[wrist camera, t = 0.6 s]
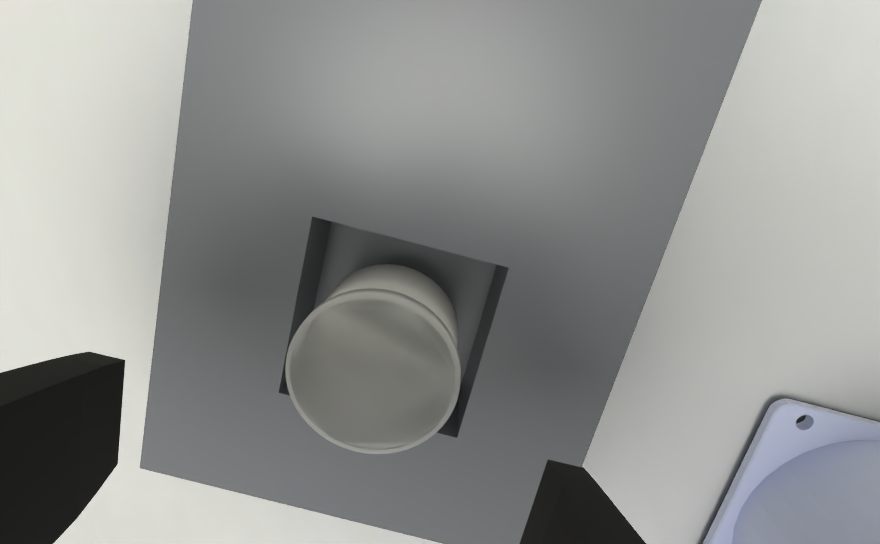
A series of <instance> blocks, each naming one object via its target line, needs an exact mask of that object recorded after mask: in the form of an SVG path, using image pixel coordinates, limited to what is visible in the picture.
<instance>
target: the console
mask: <svg viewBox="0 0 880 544" xmlns="http://www.w3.org/2000/svg"><path fill="white" fill-rule="evenodd" d="M761 1H762V0H193V4H192V12H191V21H190V30H189V39H188V48H187V57H186V65H185V74H184V83H183V92H182V101H181V109H180V118H179V127H178V136H177V145H176V154H175V162H174V171H173V180H172V189H171V198H170V207H169V215H168V224H167V233H166V242H165V251H164V259H163V268H162V277H161V286H160V295H159V304H158V312H157V321H156V330H155V339H154V348H153V357H152V365H151V374H150V383H149V392H148V401H147V409H146V418H145V427H144V436H143V445H142V454H141V462H140V468H142V469H146V470H150V471H154V472H158V473H162V474H166V475H170V476H174V477H178V478H182V479H186V480H190V481H194V482H198V483H202V484H206V485H210V486H214V487H218V488H222V489H226V490H230V491H234V492H238V493H242V494H246V495H250V496H254V497H258V498H262V499H266V500H270V501H274V502H278V503H282V504H287V505H291V506H295V507H299V508H303V509H307V510H311V511H315V512H319V513H323V514H327V515H331V516H335V517H339V518H343V519H347V520H351V521H355V522H359V523H363V524H367V525H371V526H375V527H379V528H383V529H387V530H391V531H395V532H399V533H403V534H407V535H411V536H415V537H419V538H423V539H427V540H431V541H435V542H439V543H443V544H520V541H521V538H522V535H523V532H524V529H525V526H526V523H527V520H528V517H529V514H530V511H531V508H532V505H533V502H534V499H535V496H536V493H537V490H538V487H539V484H540V481H541V478H542V475H543V472H544V469H545V466H546V463H547V460H553V461H557V462H561V463H565V464H570V465H574V466H578V467H582V464H583V462H584V459H585V456H586V454H587V451H588V449H589V446H590V443H591V441H592V438H593V436H594V433H595V431H596V428H597V425H598V423H599V420H600V418H601V415H602V412H603V410H604V407H605V405H606V402H607V400H608V397H609V394H610V392H611V389H612V387H613V384H614V381H615V379H616V376H617V374H618V371H619V368H620V366H621V363H622V361H623V358H624V356H625V353H626V350H627V348H628V345H629V343H630V340H631V337H632V335H633V332H634V330H635V327H636V325H637V322H638V319H639V317H640V314H641V312H642V309H643V306H644V304H645V301H646V299H647V296H648V293H649V291H650V288H651V286H652V283H653V281H654V278H655V275H656V273H657V270H658V268H659V265H660V262H661V260H662V257H663V255H664V252H665V250H666V247H667V244H668V242H669V239H670V237H671V234H672V231H673V229H674V226H675V224H676V221H677V219H678V216H679V213H680V211H681V208H682V206H683V203H684V200H685V198H686V195H687V193H688V190H689V187H690V185H691V182H692V180H693V177H694V175H695V172H696V169H697V167H698V164H699V162H700V159H701V156H702V154H703V151H704V149H705V146H706V144H707V141H708V138H709V136H710V133H711V131H712V128H713V125H714V123H715V120H716V118H717V115H718V112H719V110H720V107H721V105H722V102H723V100H724V97H725V94H726V92H727V89H728V87H729V84H730V81H731V79H732V76H733V74H734V71H735V69H736V66H737V63H738V61H739V58H740V56H741V53H742V50H743V48H744V45H745V43H746V40H747V37H748V35H749V32H750V30H751V27H752V25H753V22H754V19H755V17H756V14H757V12H758V9H759V6H760V4H761ZM380 264H394V265H401V266H406V267H409V268H412V269H415V270H417V271H419V272H421V273H423V274H424V275H426V276H428V277H429V278H431V279H432V280H433V281H434V282H435V283H437V284H438V285H439V286H440V288H441V289H442V290H443V291H444V292H445V294H446V295H447V296H448V298H449V300H450V301H451V303H452V305H453V308H454V311H455V313H456V317H457V322H458V344H457V350H458V354H459V358H460V368H461V375H460V390H459V395H458V399H457V402H456V405H455V407H454V410H453V411H452V413H451V415H450V417H449V419H448V420H447V421H446V422H445V424H444V425H443V426H442V427H441V428H440V429H439V430H438V431H437V432H436V433H435V434H434V435H433V436H432V437H430V438H429V439H428V440H426V441H424V442H423V443H421V444H419V445H417V446H415V447H412V448H410V449H407V450H404V451H400V452H396V453H389V454H367V453H361V452H356V451H352V450H349V449H345V448H343V447H340V446H338V445H336V444H334V443H332V442H330V441H329V440H327V439H325V438H324V437H322V436H321V435H320V434H318V433H317V432H316V431H315V430H313V429H312V428H311V427H310V426H309V425H308V424H307V423H306V421H305V420H304V419H303V418H302V417H301V415H300V414H299V412H298V410H297V409H296V407H295V405H294V403H293V401H292V399H291V397H290V394H289V390H288V387H287V382H286V371H285V365H286V357H287V352H288V349H289V345H290V343H291V341H292V338H293V336H294V335H295V333H296V331H297V330H298V328H299V327H300V325H301V324H302V323H303V322H304V320H305V319H306V318H307V317H308V316H309V314H310V313H311V312H312V311H313V310H314V309H316V308H317V307H318V306H319V305H320V304H322V303H323V302H324V301H325V300H326V299H327V298H328V296H329V295H330V294H331V292H332V291H333V290H334V288H335V287H336V286H337V285H338V284H339V283H340V282H341V281H342V280H343V279H344V278H346V277H347V276H349V275H350V274H352V273H353V272H355V271H358V270H360V269H362V268H365V267H368V266H373V265H380Z"/></svg>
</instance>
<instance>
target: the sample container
mask: <svg viewBox="0 0 880 544" xmlns="http://www.w3.org/2000/svg"><path fill="white" fill-rule="evenodd" d="M457 344H458V322H457V317H456V313H455V311H454V308H453V305H452V303H451V301H450V300H449V298H448V296H447V295H446V294H445V292H444V291H443V290H442V289H441V288H440V286H439V285H438V284H437V283H435V282H434V281H433V280H432V279H431V278H429V277H428V276H426V275H424V274H423V273H421V272H419V271H417V270H415V269H412V268H409V267H406V266H401V265H394V264H380V265H373V266H368V267H365V268H362V269H360V270H358V271H355V272H353V273H352V274H350V275H349V276H347V277H346V278H344V279H343V280H342V281H341V282H340V283H339V284H338V285H337V286H336V287H335V288H334V290H333V291H332V292H331V294H330V295H329V296H328V298H327V299H326V300H325V301H324V302H323V303H322V304H320V305H319V306H318V307H317V308H316V309H314V310H313V311H312V312H311V313H310V314H309V316H308V317H307V318H306V319H305V320H304V322H303V323H302V324H301V325H300V327H299V328H298V330H297V331H296V333H295V335H294V336H293V338H292V341H291V343H290V345H289V349H288V352H287V357H286V365H285V371H286V382H287V387H288V390H289V394H290V397H291V399H292V401H293V403H294V405H295V407H296V409H297V410H298V412H299V414H300V415H301V417H302V418H303V419H304V420H305V421H306V423H307V424H308V425H309V426H310V427H311V428H312V429H313V430H315V431H316V432H317V433H318V434H320V435H321V436H322V437H324V438H325V439H327V440H329V441H330V442H332V443H334V444H336V445H338V446H340V447H343V448H345V449H349V450H352V451H356V452H361V453H367V454H389V453H396V452H400V451H404V450H407V449H410V448H412V447H415V446H417V445H419V444H421V443H423V442H424V441H426V440H428V439H429V438H430V437H432V436H433V435H434V434H435V433H436V432H437V431H438V430H439V429H440V428H441V427H442V426H443V425H444V424H445V422H446V421H447V420H448V419H449V417H450V415H451V413H452V411H453V410H454V407H455V405H456V402H457V399H458V395H459V390H460V375H461V368H460V358H459V354H458V350H457Z"/></svg>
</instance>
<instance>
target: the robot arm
mask: <svg viewBox="0 0 880 544" xmlns="http://www.w3.org/2000/svg"><path fill="white" fill-rule="evenodd" d="M124 367H125V360H122V359H118V358H113V357H109V356H105V355H101V354H96V353H92V352H85V353H79V354H74V355H69V356H64V357H60V358H56V359H52V360H48V361H44V362H40V363H36V364H32V365H28V366H25V367H21V368H17V369H13V370H10V371H6V372H2V373H0V544H53V543H54V542H55V541H56V540H57V539H58V538H59V537H60V536H61V535H62V534H63V532H64V531H65V530H66V529H67V528H68V527H69V526H70V525H71V524H72V523H73V522H74V521H75V520H76V518H77V517H78V516H79V515H80V513H81V512H82V511H83V510H84V508H85V507H86V506H87V504H88V503H89V502H90V501H91V499H92V498H93V497H94V495H95V494H96V493H97V491H98V490H99V489H100V487H101V486H102V485H103V483H104V482H105V480H106V479H107V478H108V476H109V475H110V474H111V472H112V471H113V469H114V468H115V467H116V465H117V463H118V450H119V436H120V422H121V408H122V395H123V381H124ZM803 415H806V418H805V419H804V420H803V421H802V422H800V423H796V420H797V419H798V418H799V417H801V416H803ZM520 544H646V543H645V542H644V541H643V540H642V538H641V537H640V536H639V535H638V533H637V532H636V531H635V530H634V528H633V527H632V526H631V525H630V524H629V522H628V521H627V520H626V519H625V517H624V516H623V515H622V514H621V512H620V511H619V510H618V509H617V507H616V506H615V505H614V504H613V502H612V501H611V500H610V499H609V497H608V496H607V495H606V494H605V492H604V491H603V490H602V489H601V488H600V486H599V485H598V484H597V483H596V481H595V480H594V479H593V478H592V477H591V476H590V474H589V473H588V472H587V471H586V470H585V469H584V468H582V467H578V466H574V465H570V464H565V463H561V462H557V461H553V460H547V463H546V466H545V469H544V472H543V475H542V478H541V481H540V484H539V487H538V490H537V493H536V496H535V499H534V502H533V505H532V508H531V511H530V514H529V517H528V520H527V523H526V526H525V529H524V532H523V535H522V538H521V541H520ZM703 544H880V422H877V421H873V420H869V419H866V418H862V417H858V416H854V415H850V414H846V413H842V412H838V411H835V410H831V409H827V408H823V407H819V406H815V405H811V404H808V403H804V402H800V401H796V400H792V399H780V400H777V401H775V402H774V403H772V404H771V405H770V407H769V408H768V410H767V412H766V414H765V416H764V418H763V420H762V422H761V424H760V426H759V428H758V430H757V433H756V435H755V437H754V439H753V441H752V443H751V445H750V447H749V449H748V451H747V453H746V455H745V457H744V459H743V461H742V463H741V466H740V468H739V470H738V472H737V474H736V476H735V478H734V480H733V482H732V484H731V486H730V488H729V490H728V492H727V494H726V496H725V499H724V501H723V503H722V505H721V507H720V509H719V511H718V513H717V515H716V517H715V519H714V521H713V523H712V525H711V527H710V529H709V532H708V534H707V536H706V538H705V540H704V542H703Z"/></svg>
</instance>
